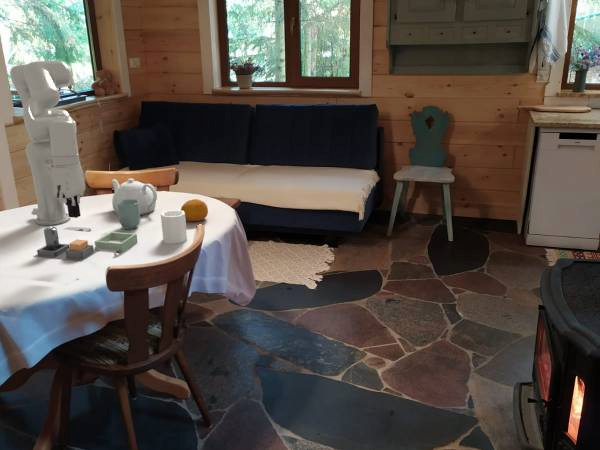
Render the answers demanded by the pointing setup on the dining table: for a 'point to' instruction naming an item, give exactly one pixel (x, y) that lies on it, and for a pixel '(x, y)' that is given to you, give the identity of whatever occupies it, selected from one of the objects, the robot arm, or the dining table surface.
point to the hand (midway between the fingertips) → (74, 216)
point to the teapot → (135, 194)
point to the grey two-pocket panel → (66, 253)
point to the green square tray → (121, 247)
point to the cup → (129, 213)
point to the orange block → (78, 245)
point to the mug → (174, 226)
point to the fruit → (195, 210)
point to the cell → (51, 238)
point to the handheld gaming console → (78, 229)
